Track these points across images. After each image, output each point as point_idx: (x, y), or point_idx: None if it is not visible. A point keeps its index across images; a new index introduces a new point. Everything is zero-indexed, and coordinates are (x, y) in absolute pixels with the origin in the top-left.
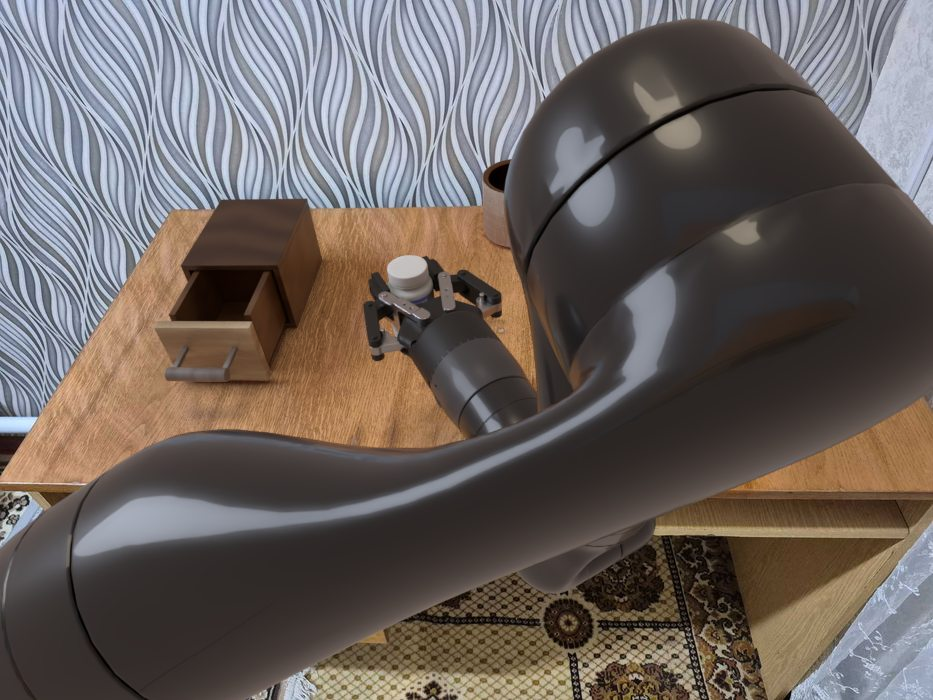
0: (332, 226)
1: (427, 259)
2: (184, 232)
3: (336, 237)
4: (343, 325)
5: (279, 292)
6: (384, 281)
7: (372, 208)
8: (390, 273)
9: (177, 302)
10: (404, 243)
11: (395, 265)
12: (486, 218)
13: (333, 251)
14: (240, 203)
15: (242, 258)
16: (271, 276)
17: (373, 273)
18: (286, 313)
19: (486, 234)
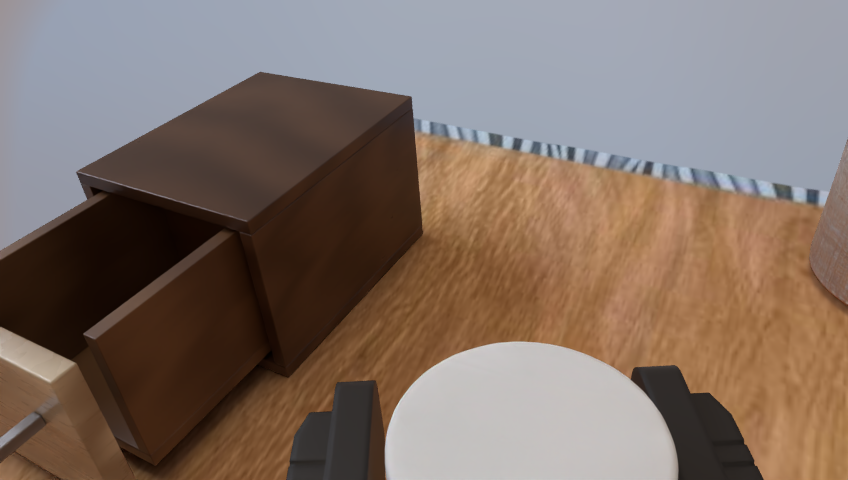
0: (472, 175)
1: (678, 396)
2: None
3: (470, 197)
4: (388, 408)
5: None
6: (365, 473)
7: (561, 159)
8: (391, 459)
9: (2, 252)
10: (604, 243)
11: (455, 401)
12: (833, 233)
13: (451, 223)
14: (285, 83)
15: (193, 186)
16: (237, 246)
17: (344, 387)
18: None
19: (817, 272)
